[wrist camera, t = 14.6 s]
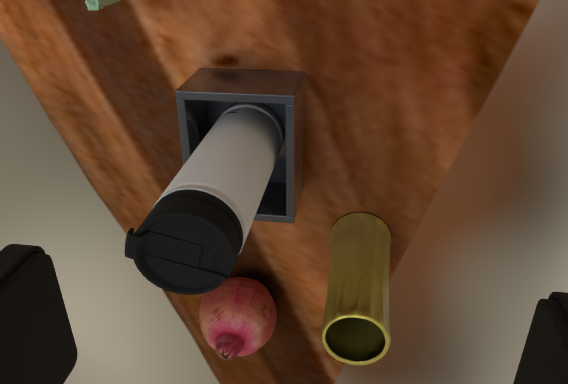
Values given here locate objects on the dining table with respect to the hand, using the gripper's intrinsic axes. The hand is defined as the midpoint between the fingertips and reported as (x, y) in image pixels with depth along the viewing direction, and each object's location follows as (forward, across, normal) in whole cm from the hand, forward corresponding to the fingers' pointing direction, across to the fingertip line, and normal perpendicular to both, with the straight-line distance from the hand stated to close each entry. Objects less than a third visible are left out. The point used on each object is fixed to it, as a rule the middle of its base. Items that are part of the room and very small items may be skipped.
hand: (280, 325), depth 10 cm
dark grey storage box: (+36, +8, +11) cm, 39 cm away
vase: (+36, -2, +22) cm, 43 cm away
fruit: (+36, +10, +30) cm, 48 cm away
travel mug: (+36, +9, +11) cm, 39 cm away
